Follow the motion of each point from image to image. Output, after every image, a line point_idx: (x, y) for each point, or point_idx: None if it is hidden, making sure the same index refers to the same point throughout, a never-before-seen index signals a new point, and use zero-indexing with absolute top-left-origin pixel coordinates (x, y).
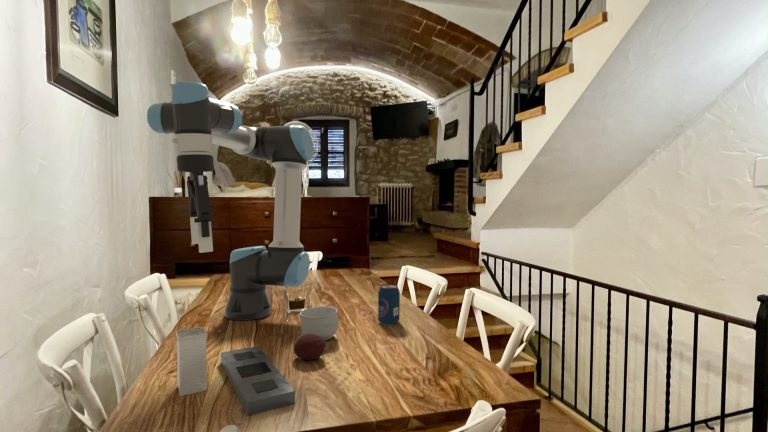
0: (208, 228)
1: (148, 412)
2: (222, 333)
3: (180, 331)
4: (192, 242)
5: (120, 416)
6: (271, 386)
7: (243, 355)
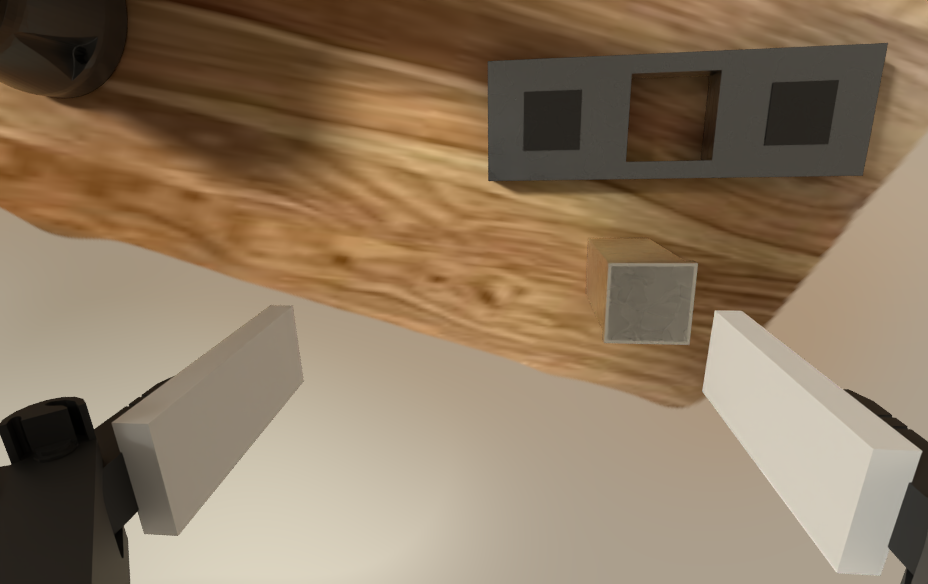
0: (918, 442)
1: (683, 353)
2: (241, 135)
3: (621, 331)
4: (298, 385)
5: (667, 397)
6: (820, 98)
7: (550, 123)
